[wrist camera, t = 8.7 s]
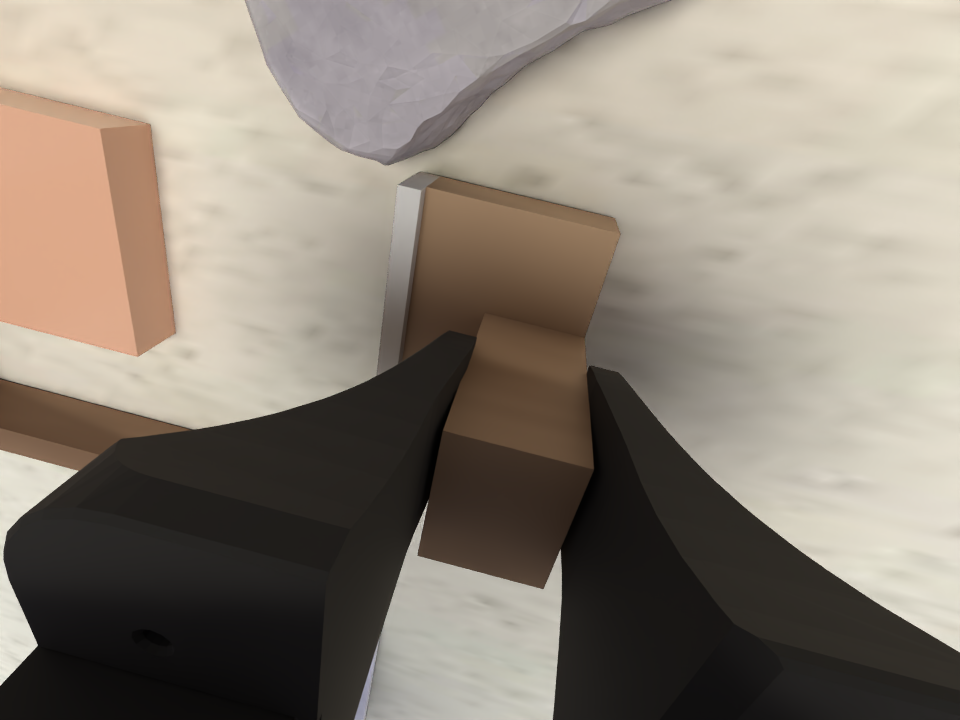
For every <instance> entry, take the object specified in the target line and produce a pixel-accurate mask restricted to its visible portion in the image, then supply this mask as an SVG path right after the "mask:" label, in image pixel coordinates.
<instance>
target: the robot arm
mask: <svg viewBox="0 0 960 720" xmlns="http://www.w3.org/2000/svg"><path fill="white" fill-rule="evenodd" d="M476 340H477V337H474V336H470V335H466V334H462V333H458V332H454V331H450V330H449V331H447V332H445V333H443V334H442V335H440V336H439V337H438V338H436V339H435V340H434V341H432V342H431V343H429V344H428V345H427V346H425V347H424V348H422V349H421V350H419V351H418V352H416V353H415V354H413V355H412V356H410V357H408V358H407V359H405V360H404V361H402V362H400V363H399V364H397V365H396V366H394V367H392V368H390V369H389V370H387V371H385V372H383V373H381V374H379V375H377V376H376V377H374V378H372V379H370V380H368V381H366V382H364V383H362V384H360V385H357V386H355V387H353V388H350V389H348V390H345V391H343V392H340V393H338V394H335V395H333V396H330V397H327V398H325V399H322V400H319V401H315V402H312V403H309V404H305V405H302V406H299V407H296V408H292V409H289V410H286V411H282V412H279V413H275V414H271V415H267V416H263V417H259V418H254V419H250V420H245V421H240V422H235V423H230V424H225V425H220V426H214V427H208V428H202V429H196V430H188V431H180V432H173V433H165V434H157V435H150V436H142V437H133V438H123V439H120V440H119V441H117V442H116V443H114V444H113V445H112V446H110V447H109V448H108V449H106V450H105V451H104V452H103V453H101V454H100V455H99V456H97V457H96V458H95V459H94V460H92V461H91V462H90V463H88V464H87V465H86V466H85V467H83V468H82V469H81V470H80V471H78V472H77V473H76V474H75V475H73V476H72V477H71V478H70V479H68V480H67V481H66V482H65V483H63V484H62V485H61V486H59V487H58V488H57V489H56V490H54V491H53V492H52V493H51V494H49V495H48V496H47V497H46V498H44V499H43V500H42V501H41V502H39V503H38V504H37V505H36V506H34V507H33V508H32V509H30V510H29V511H28V512H27V513H25V514H24V515H23V516H22V517H20V519H19V520H18V521H17V522H16V523H15V524H14V525H13V526H12V527H11V528H10V529H9V530H8V532H7V535H6V541H5V546H4V563H5V567H6V571H7V574H8V578H9V581H10V583H11V585H12V588H13V590H14V592H15V594H16V597H17V599H18V601H19V603H20V606H21V608H22V610H23V612H24V615H25V617H26V619H27V621H28V623H29V626H30V628H31V630H32V632H33V635H34V637H35V639H36V641H37V644H38V646H37V647H36V648H35V650H34V651H33V652H32V653H31V654H30V655H29V656H28V657H27V658H26V659H25V660H24V661H23V662H22V663H21V664H20V665H19V667H18V668H17V669H16V670H15V671H14V672H13V673H12V674H11V675H10V676H9V677H8V678H7V679H6V680H5V681H4V682H3V684H2V685H1V686H0V720H365V717H366V712H367V706H368V701H369V695H370V689H371V684H372V678H373V673H374V667H375V661H376V656H377V650H378V645H379V639H380V634H381V631H382V628H383V625H384V621H385V618H386V615H387V612H388V609H389V605H390V602H391V599H392V596H393V593H394V590H395V587H396V583H397V580H398V577H399V574H400V571H401V568H402V565H403V561H404V558H405V555H406V553H407V550H408V547H409V545H410V542H411V539H412V537H413V534H414V532H415V530H416V527H417V525H418V523H419V521H420V518H421V516H422V514H423V511H424V509H425V507H426V504H427V502H428V500H429V496H430V491H431V486H432V482H433V477H434V472H435V467H436V462H437V457H438V452H439V447H440V442H441V437H442V433H443V429H444V426H445V423H446V421H447V418H448V415H449V412H450V409H451V407H452V404H453V401H454V398H455V395H456V393H457V390H458V387H459V384H460V381H461V380H462V378H463V376H464V374H465V372H466V370H467V368H468V365H469V362H470V359H471V356H472V353H473V350H474V348H475V344H476ZM587 385H588V399H589V407H590V420H591V434H592V448H593V462H594V471H593V473H592V476H591V478H590V480H589V483H588V485H587V487H586V490H585V492H584V494H583V497H582V499H581V502H580V504H579V506H578V509H577V511H576V513H575V516H574V518H573V520H572V523H571V525H570V528H569V530H568V532H567V535H566V537H565V539H564V542H563V544H562V546H561V564H562V605H561V621H560V636H559V651H558V664H557V677H556V690H555V703H554V713H553V720H960V652H958V651H956V650H955V649H953V648H951V647H950V646H948V645H946V644H945V643H943V642H941V641H939V640H938V639H936V638H934V637H933V636H931V635H929V634H928V633H926V632H924V631H923V630H921V629H919V628H918V627H916V626H914V625H912V624H911V623H909V622H907V621H906V620H904V619H902V618H901V617H899V616H897V615H896V614H894V613H892V612H891V611H889V610H887V609H886V608H884V607H882V606H881V605H879V604H878V603H876V602H874V601H873V600H871V599H870V598H868V597H867V596H865V595H864V594H862V593H861V592H859V591H858V590H856V589H855V588H853V587H852V586H850V585H849V584H847V583H846V582H844V581H843V580H841V579H840V578H838V577H837V576H835V575H834V574H832V573H831V572H829V571H828V570H826V569H825V568H823V567H822V566H821V565H819V564H818V563H816V562H815V561H813V560H812V559H811V558H809V557H808V556H806V555H805V554H804V553H802V552H801V551H799V550H798V549H797V548H795V547H794V546H793V545H791V544H790V543H789V542H788V541H786V540H785V539H784V538H782V537H781V536H780V535H778V534H777V533H776V532H775V531H773V530H772V529H771V528H769V527H768V526H767V525H765V524H764V523H763V522H762V521H760V520H759V519H758V518H757V517H755V516H754V515H753V514H752V513H751V512H749V511H748V510H747V509H746V508H745V507H743V506H742V505H741V504H740V503H739V502H738V501H737V500H736V499H734V498H733V497H732V496H731V495H730V494H729V493H728V492H727V491H725V490H724V489H723V488H722V487H721V486H720V485H719V484H718V483H717V482H715V481H714V480H713V479H712V478H711V477H710V476H709V475H708V474H707V473H706V472H705V471H704V470H703V469H702V468H701V467H700V466H699V465H698V464H697V463H696V462H695V461H694V460H693V459H692V458H691V457H690V455H689V454H688V453H687V452H686V451H685V450H684V449H683V448H682V447H681V446H680V445H679V444H678V443H677V442H676V440H675V439H674V438H673V437H672V436H671V435H670V434H669V433H668V431H667V430H666V429H665V428H664V427H663V426H662V424H661V423H660V422H659V421H658V420H657V418H656V417H655V416H654V415H653V414H652V412H651V411H650V410H649V409H648V407H647V406H646V405H645V404H644V402H643V401H642V400H641V399H640V397H639V396H638V395H637V394H636V392H635V391H634V390H633V389H632V388H631V386H630V385H629V384H628V383H627V381H626V380H625V379H624V378H623V377H622V376H621V375H620V374H619V373H618V372H614V371H610V370H606V369H602V368H598V367H594V366H589V368H588V371H587Z"/></svg>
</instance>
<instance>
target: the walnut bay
mask: <svg viewBox="0 0 960 720" xmlns="http://www.w3.org/2000/svg"><path fill="white" fill-rule="evenodd" d="M188 430H190V429H186V428H182V427H178V426H175V425H171V424H167V423H163V422H160V421H156V420H152V419H148V418H144V417H141V416H137V415H133V414H129V413H126V412H122V411H118V410H114V409H111V408H107V407H103V406H99V405H95V404H92V403H88V402H84V401H80V400H77V399H73V398H69V397H65V396H62V395H58V394H54V393H50V392H47V391H43V390H39V389H35V388H31V387H28V386H24V385H20V384H16V383H13V382H9V381H5V380H1V379H0V450H4V451H7V452H11V453H15V454H19V455H22V456H26V457H30V458H33V459H37V460H41V461H44V462H48V463H52V464H56V465H59V466H63V467H67V468H70V469H74V470H78V471H80V470H81V469H82V468H83V467H85V466H86V465H87V464H88V463H90V462H91V461H92V460H94V459H95V458H96V457H97V456H99V455H100V454H101V453H103V452H104V451H105V450H106V449H108V448H109V447H110V446H112V445H113V444H114V443H116V442H117V441H119V440H120V439H123V438H133V437H142V436H150V435H157V434H165V433H173V432H180V431H188Z"/></svg>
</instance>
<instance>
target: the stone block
mask: <svg viewBox="0 0 960 720" xmlns="http://www.w3.org/2000/svg"><path fill="white" fill-rule="evenodd" d="M667 1H670V0H245V2H246V5H247V8H248V11H249V14H250V17H251V20H252V22H253V25H254V28H255V31H256V34H257V36H258V39H259V42H260V45H261V48H262V51H263V55H264V58H265V61H266V64H267V66H268V68H269V69H270V71H271V73H272V74H273V76H274V78H275V80H276V81H277V83H278V85H279V86H280V88H281V89H282V91H283V93H284V94H285V96H286V97H287V99H288V100H289V102H290V104H291V105H292V107H293V108H294V110H295V111H296V113H297V114H298V116H299V117H300V118H301V119H302V120H303V121H305V122H306V123H307V124H308V125H309V126H310V127H312V128H313V129H314V130H315V131H316V132H317V133H319V134H320V135H321V136H322V137H323V138H325V139H326V140H327V141H328V142H330V143H331V144H333V145H334V146H336V147H337V148H339V149H340V150H343V151H346V152H348V153H351V154H354V155H357V156H360V157H364V158H368V159H372V160H376V161H378V162H380V163H382V164H384V165H391V164H394V163H396V162H399V161H402V160H404V159H407V158H409V157H411V156H414V155H416V154H418V153H420V152H422V151H425V150H429V149H432V148H435V147H436V146H438V145H439V144H440V143H441V142H443V141H444V140H445V139H447V138H448V137H449V136H451V135H452V134H453V133H454V132H455V131H456V130H457V129H458V128H459V127H460V126H461V125H462V124H463V123H464V121H465V120H466V119H467V118H468V116H469V115H470V114H472V113H473V112H474V111H475V110H477V109H478V108H479V107H480V106H481V105H482V104H483V103H484V102H485V100H486V99H487V98H488V97H489V96H490V95H491V94H492V92H494V91H495V90H497V89H498V88H500V87H501V86H503V85H504V84H505V83H506V82H508V81H509V80H510V79H511V78H512V77H513V76H514V75H515V74H517V73H518V72H519V71H520V70H521V69H522V68H523V67H524V66H526V65H528V64H529V63H531V62H533V61H535V60H536V59H538V58H540V57H542V56H544V55H545V54H548V53H550V52H552V51H553V50H555V49H556V48H558V47H559V46H561V45H562V44H564V43H565V42H567V41H568V40H570V39H571V38H573V37H574V36H576V35H577V34H579V33H581V32H582V31H585V30H588V29H594V28H598V27H603V26H607V25H610V24H612V23H614V22H616V21H618V20H620V19H622V18H624V17H625V16H627V15H630V14H633V13H636V12H638V11H641V10H644V9H647V8H649V7H652V6H655V5H658V4H660V3H664V2H667Z"/></svg>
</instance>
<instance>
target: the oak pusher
mask: <svg viewBox="0 0 960 720" xmlns="http://www.w3.org/2000/svg"><path fill="white" fill-rule="evenodd" d="M619 237H620V231H619V228H618V226H617V223H616V220H615V218H612V217H608V216H603V215H599V214H595V213H591V212H587V211H583V210H578V209H574V208H570V207H566V206H562V205H557V204H553V203H549V202H545V201H541V200H537V199H532V198H528V197H524V196H520V195H516V194H512V193H507V192H503V191H499V190H495V189H491V188H487V187H482V186H478V185H474V184H470V183H466V182H462V181H457V180H453V179H449V178H445V177H441V176H436V175H432V174H428V173H424V172H418V173H417V174H415V175H413V176H412V177H410V178H408V179H407V180H405V181H403V182H401V183H400V184H398V186H397V195H396V204H395V213H394V222H393V231H392V240H391V249H390V258H389V268H388V277H387V286H386V295H385V304H384V313H383V322H382V331H381V340H380V350H379V359H378V368H377V375H379V374H381V373H383V372H385V371H387V370H389V369H390V368H392V367H394V366H396V365H397V364H399V363H400V362H402V361H404V360H405V359H407V358H408V357H410V356H412V355H413V354H415V353H416V352H418V351H419V350H421V349H422V348H424V347H425V346H427V345H428V344H429V343H431V342H432V341H434V340H435V339H436V338H438V337H439V336H440V335H442V334H443V333H445V332H447V331H449V330H450V331H454V332H458V333H462V334H466V335H470V336H474V337H477V340H476V344H475V348H474V350H473V353H472V356H471V359H470V362H469V365H468V368H467V370H466V372H465V374H464V376H463V378H462V380H461V381H460V384H459V387H458V390H457V393H456V395H455V398H454V401H453V404H452V407H451V409H450V412H449V415H448V418H447V421H446V423H445V426H444V429H443V433H442V437H441V442H440V447H439V452H438V457H437V462H436V467H435V472H434V477H433V482H432V486H431V491H430V496H429V501H428V506H427V511H426V516H425V521H424V526H423V531H422V535H421V540H420V545H419V550H418V555H417V556H421V557H425V558H428V559H432V560H436V561H440V562H443V563H447V564H451V565H455V566H458V567H462V568H466V569H470V570H473V571H477V572H481V573H485V574H488V575H492V576H496V577H500V578H503V579H507V580H511V581H515V582H518V583H522V584H526V585H530V586H533V587H537V588H541V589H544V587H545V584H546V582H547V580H548V577H549V575H550V572H551V570H552V568H553V565H554V563H555V561H556V558H557V556H558V554H559V551H560V549H561V546H562V544H563V542H564V539H565V537H566V535H567V532H568V530H569V528H570V525H571V523H572V520H573V518H574V516H575V513H576V511H577V509H578V506H579V504H580V502H581V499H582V497H583V494H584V492H585V490H586V487H587V485H588V483H589V480H590V478H591V476H592V473H593V471H594V462H593V448H592V434H591V420H590V407H589V399H588V385H587V365H586V352H585V335H586V332H587V329H588V326H589V323H590V320H591V317H592V315H593V312H594V309H595V306H596V303H597V300H598V297H599V294H600V292H601V289H602V286H603V283H604V280H605V277H606V274H607V271H608V268H609V266H610V263H611V260H612V257H613V254H614V251H615V248H616V245H617V243H618V240H619Z"/></svg>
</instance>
